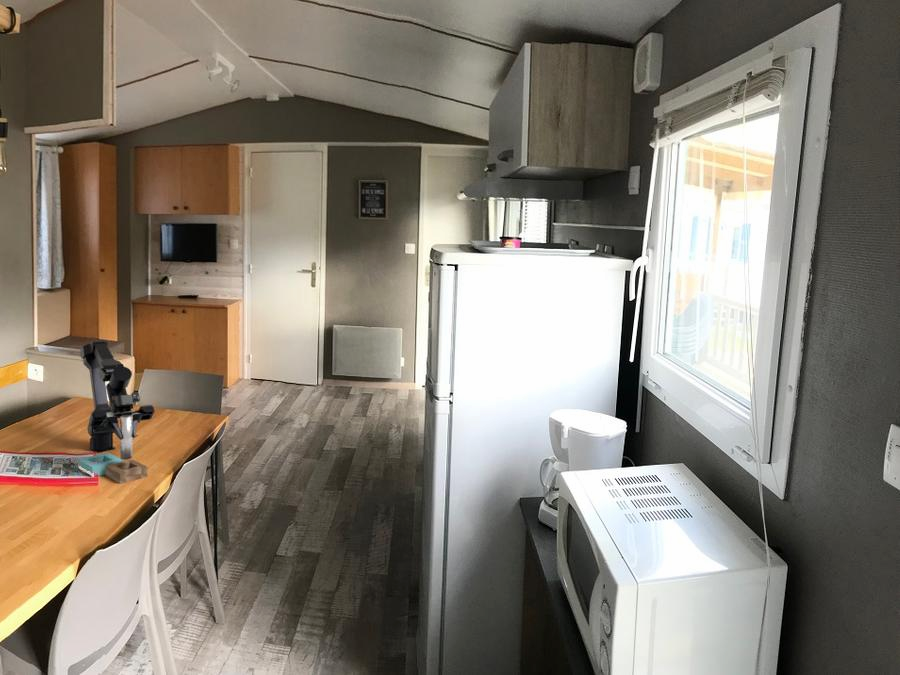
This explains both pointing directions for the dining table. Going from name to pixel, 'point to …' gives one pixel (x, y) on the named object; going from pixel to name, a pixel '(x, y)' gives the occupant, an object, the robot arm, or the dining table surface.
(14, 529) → the dining table surface
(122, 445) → the steel rod
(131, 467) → the brown square socket block
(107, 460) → the seat block
